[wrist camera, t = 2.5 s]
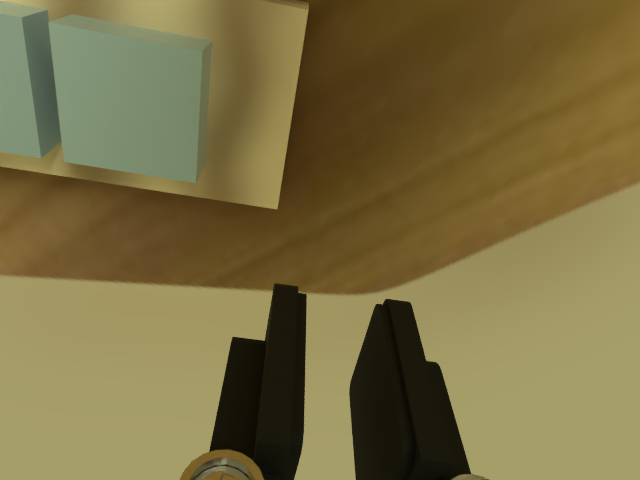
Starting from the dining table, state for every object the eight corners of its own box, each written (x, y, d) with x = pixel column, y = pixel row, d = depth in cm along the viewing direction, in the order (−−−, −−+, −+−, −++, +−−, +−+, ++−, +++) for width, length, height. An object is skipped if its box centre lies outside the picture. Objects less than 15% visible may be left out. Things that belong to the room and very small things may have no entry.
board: (309, 2, 23) (308, 9, 21) (280, 188, 28) (277, 209, 26) (-100, -81, 21) (-146, -82, 19) (-48, 136, 26) (-79, 154, 24)
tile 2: (212, 40, 21) (202, 51, 20) (204, 163, 25) (196, 183, 23) (72, 14, 21) (48, 22, 19) (83, 143, 24) (63, 162, 22)
